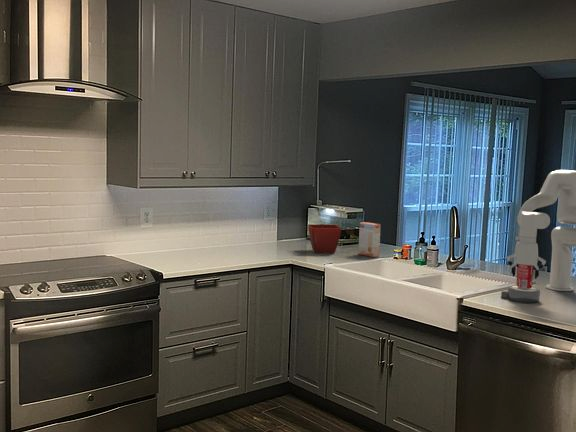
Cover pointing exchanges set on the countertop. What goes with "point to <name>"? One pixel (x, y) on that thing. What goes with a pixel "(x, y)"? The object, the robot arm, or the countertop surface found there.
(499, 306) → the countertop surface
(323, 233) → the plant pot
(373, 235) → the cracker box
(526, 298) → the motor housing
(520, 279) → the soda can
